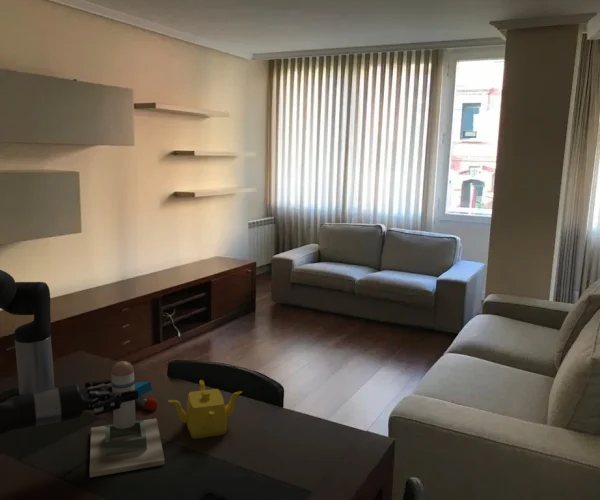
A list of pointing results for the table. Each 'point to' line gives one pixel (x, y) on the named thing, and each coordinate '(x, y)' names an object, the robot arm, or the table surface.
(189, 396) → the teapot
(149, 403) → the lever
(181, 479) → the table surface
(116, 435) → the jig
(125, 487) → the table surface
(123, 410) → the brown-capped white canister
